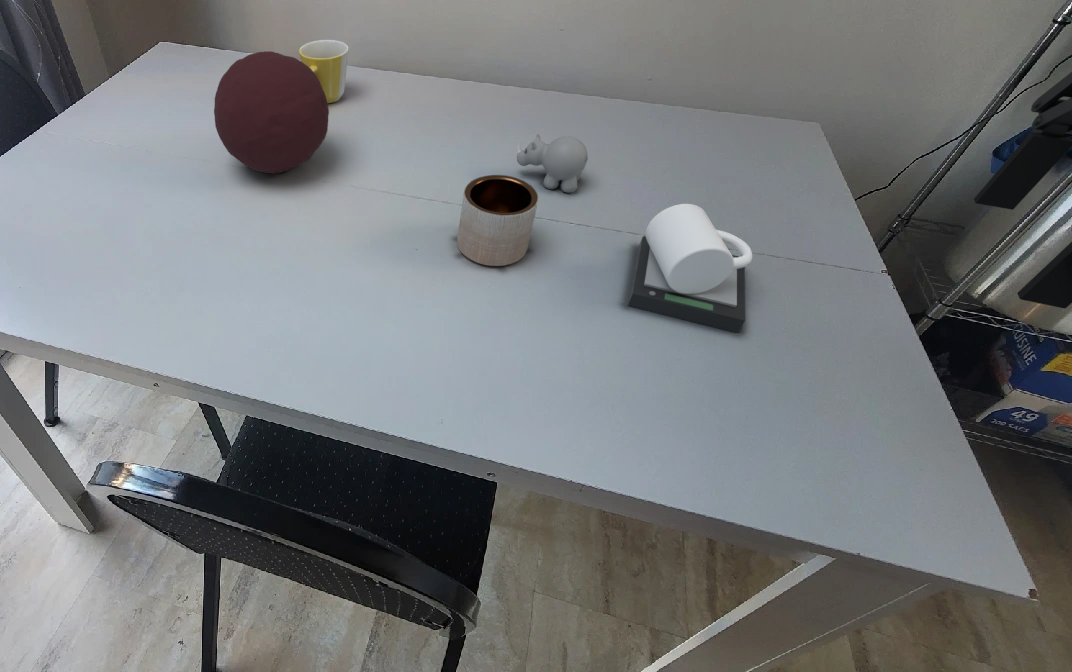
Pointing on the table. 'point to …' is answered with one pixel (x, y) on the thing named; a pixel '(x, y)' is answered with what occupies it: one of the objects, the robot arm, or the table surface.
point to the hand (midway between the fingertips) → (1014, 248)
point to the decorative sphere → (271, 112)
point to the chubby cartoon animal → (556, 160)
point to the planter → (496, 219)
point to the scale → (687, 295)
